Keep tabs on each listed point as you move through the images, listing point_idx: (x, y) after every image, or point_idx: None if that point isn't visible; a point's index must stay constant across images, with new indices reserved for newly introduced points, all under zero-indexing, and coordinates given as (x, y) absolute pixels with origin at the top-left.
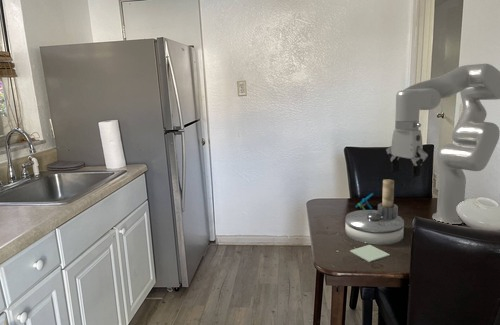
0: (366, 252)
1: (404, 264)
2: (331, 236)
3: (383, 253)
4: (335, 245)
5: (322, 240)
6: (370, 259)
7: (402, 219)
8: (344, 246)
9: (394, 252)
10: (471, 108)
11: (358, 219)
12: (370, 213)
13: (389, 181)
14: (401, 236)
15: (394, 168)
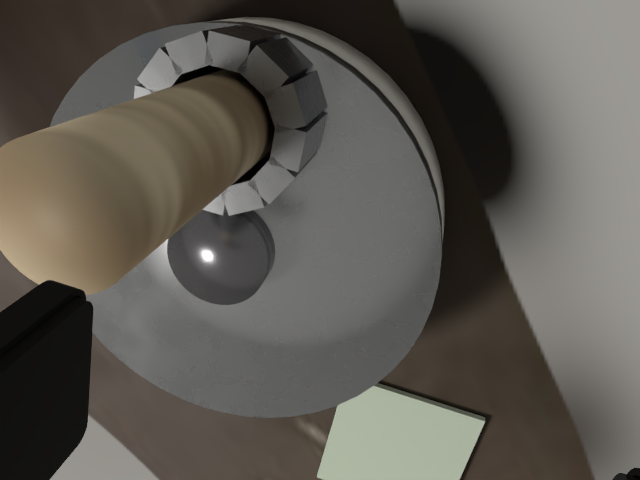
0: (385, 458)
1: (584, 460)
2: (146, 380)
3: (454, 428)
4: (230, 452)
5: (154, 439)
6: None
7: (389, 120)
8: (265, 441)
9: (487, 373)
10: None
11: (168, 319)
12: (176, 242)
13: (99, 259)
14: (443, 206)
15: (38, 467)
